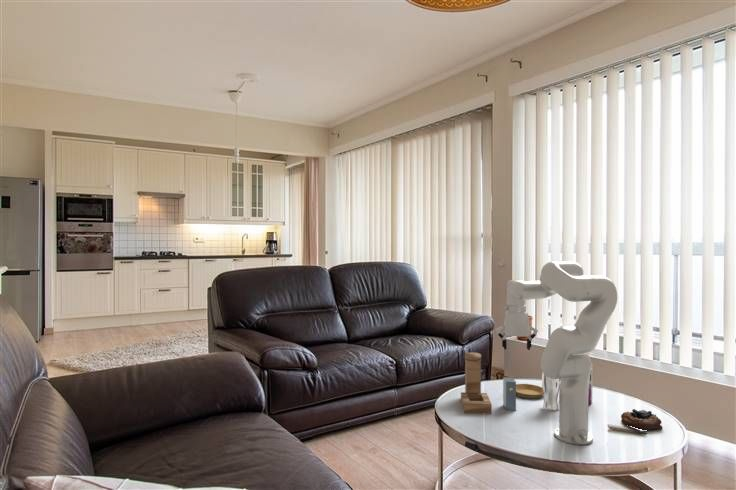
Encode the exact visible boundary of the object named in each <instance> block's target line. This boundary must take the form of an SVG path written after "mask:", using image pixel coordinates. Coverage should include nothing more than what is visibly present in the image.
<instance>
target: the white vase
mask: <svg viewBox="0 0 736 490" xmlns="http://www.w3.org/2000/svg"><path fill="white" fill-rule="evenodd" d="M560 382H561V379H551V378H548V377H547V376H545V374H544V373H543V371H542V374H541V387H542V389H543V395H542V396H543V403H542V408H543V409H544V410H546V411H551V412H555V411H558V410H559V402H558V399H559V387H560Z"/></svg>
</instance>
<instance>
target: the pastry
mask: <svg viewBox="0 0 736 490" xmlns="http://www.w3.org/2000/svg"><path fill="white" fill-rule="evenodd" d="M620 418H621V423H623V425H625V426H627V425H628V426H632V427H635V428H638V429H642V430H647V431H646V432H654V430H655V431H662V430H663V426H662V425H661V424H662V419H660V418H659V417H658V416H657V414H655V413H652V411H651V410H648V411H647V410H645V409H641V410H637V409H635V408H633V409H632V410H631V411H625V412H622V414H621V415H620ZM628 426H627V427H628Z"/></svg>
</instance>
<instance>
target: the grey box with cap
mask: <svg viewBox="0 0 736 490" xmlns="http://www.w3.org/2000/svg"><path fill="white" fill-rule="evenodd" d="M502 379H503V380H502V383H503V384H502V385H503V386H502V387H503V388H502V389H503V390H502V391H503V392H502V395H503V396H502V401H503V402H502V403H503V404H502V405H503V407H504V410H505V411H507V412H508V411H509V412H511V411H513V412H516V411H517V394H516V384H517V381H516V380H515V379H514V377H509V376H507V377H503V378H502Z"/></svg>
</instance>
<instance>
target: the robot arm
mask: <svg viewBox="0 0 736 490" xmlns="http://www.w3.org/2000/svg"><path fill="white" fill-rule="evenodd" d="M539 275H540V276H539V280H528V281H527V280H526V281H525V280H523V279H522V280H521V279H510V280H508V282H507V284H506V286H507V287H506V289H507V290H506V293H507V295H506V296H507V297H506V298H507V299H506V300H507V301H506V305H505V306H503V310H506V311H505V315H504V321H503V323H504V324H503V325H501V326H499V327H496V328H495V332H496V334H497V336H498V337H499V338H500V339H501V340H502V341H501V344H502V345H501V346H502V347H503V349H504V350H507V337H517V338H518V337H523V338H524V337H526V338H527V339H526V349H527V350H528V351H530V350H531V348H532V341H533V339H534V338H536V335H537V334H538V333H539V331H538V329H537V328H536V327H535V328H534V327H533V326H531V325H530V316H529V313H528V312H527V308H526V307H527V303H526V302H527V301H529V300H541V299H546V298H549V297H553V296H555V295H556V294H557V295H559V296H560V297H561V298H563V300H566V301H568V302H573V303H577V302H581V303H582V302H589V303H588V304H587V305H586V306H585V307H584V308H583V309H582V310H581V312H580V314H579V315H578V317H577V320H576V322H575V323H574V324H573V325H570V326H569V325H568V326H560V327H557V328H556V329H554V330H553V331H552V332H551V333H550V336H549V338H548V339H547V343H546V346H545V348H544V350H543V353H542V356H541V359H540V360H541V361H540V368H541V370H542V372H543V373H544V374H545V376H547V377H548V378H551V379H560V387H559V393H558V399H559V400H558V410H559V411H558V412H559V413H558V417H559V418H558V419H559V420H558V425H559V426H558V428H556V429H555V430H554V437H556V439H558V440H559V441H562V442H565V443H567V444H571V445H576V446H577V445H580V446H585V445H590V444H591V443H593V442H594V437H593V435H592V434H591V433H590V432H589V405H588V387H589V378H590V373H591V368H592V365H593V363H592V360H591V356H590V355H589V353H591V352H593V351H594V350H595V349H596V347H597V345H598V343H599V341H600V338H601V337H602V334H603V332H604V330H605V328H606V326H607V323H608V321H609V319H610V318H611V316H612V315H613V312H615V310H616V307H617V304H618V291H617V287H616V285H615V283H614V282H613V280H611V279H610V278H608V277H606V276H604V275H584V269H583V267H582V266H581V264H579V263H578V262H576V261H571V260H570V261H569V260H567V261H565V260H563V261H562V260H561V261H549V262H547V263H545V264H544V265H543V266H542V268H541V271H540V274H539ZM502 330H503V332H504V333H503V334H502V333H501V331H502ZM531 331H532V333H531Z"/></svg>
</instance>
